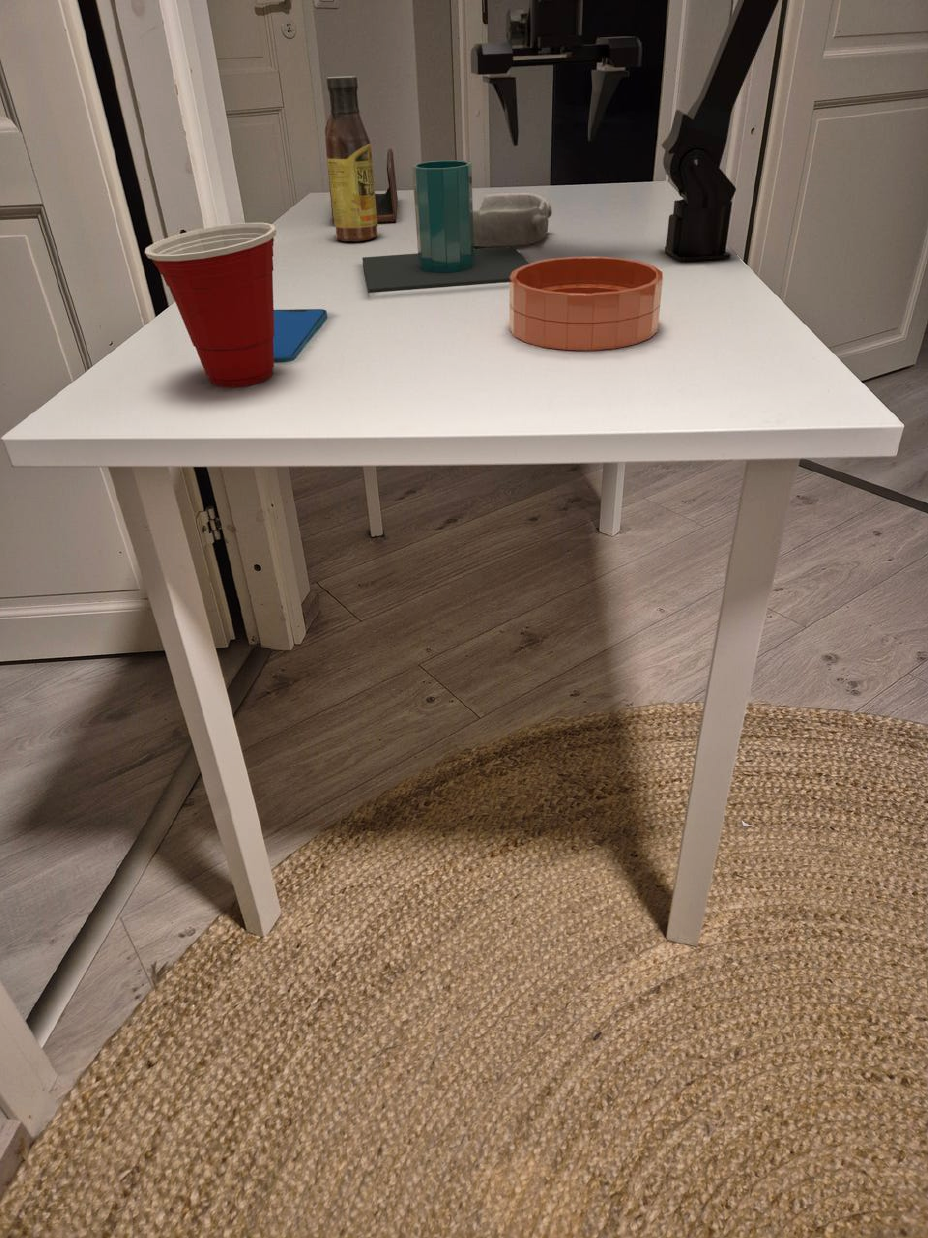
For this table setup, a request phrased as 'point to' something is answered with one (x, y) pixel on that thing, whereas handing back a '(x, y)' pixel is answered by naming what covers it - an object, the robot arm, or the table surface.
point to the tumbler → (444, 215)
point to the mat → (409, 276)
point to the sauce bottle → (350, 164)
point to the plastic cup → (224, 297)
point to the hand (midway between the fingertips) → (553, 142)
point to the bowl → (585, 303)
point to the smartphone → (294, 331)
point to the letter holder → (384, 202)
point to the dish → (510, 220)
